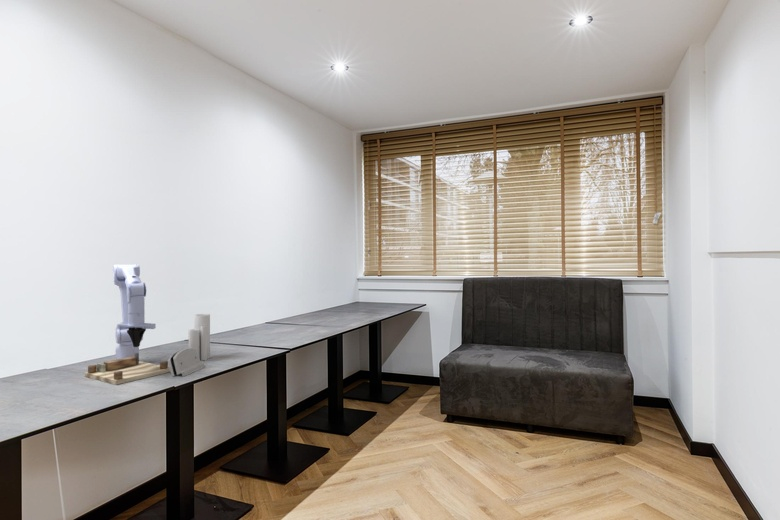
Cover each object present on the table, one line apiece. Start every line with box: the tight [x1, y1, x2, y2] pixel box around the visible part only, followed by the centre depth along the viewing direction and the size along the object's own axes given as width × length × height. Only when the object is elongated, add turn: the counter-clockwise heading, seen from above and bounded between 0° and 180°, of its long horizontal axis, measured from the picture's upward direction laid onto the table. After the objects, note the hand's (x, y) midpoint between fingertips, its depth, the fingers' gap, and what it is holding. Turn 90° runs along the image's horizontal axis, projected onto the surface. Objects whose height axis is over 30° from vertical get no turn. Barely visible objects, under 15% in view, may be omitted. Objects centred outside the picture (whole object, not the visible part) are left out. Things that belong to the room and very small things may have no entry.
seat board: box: [84, 352, 171, 386], centre depth 180 cm, size 22×22×6 cm
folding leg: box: [103, 357, 136, 371], centre depth 183 cm, size 12×3×3 cm, turn 154°
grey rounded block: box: [167, 348, 206, 378], centre depth 184 cm, size 17×5×10 cm, turn 174°
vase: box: [188, 313, 211, 361], centre depth 205 cm, size 11×7×20 cm, turn 178°
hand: (136, 346), depth 182 cm, fingers closed
